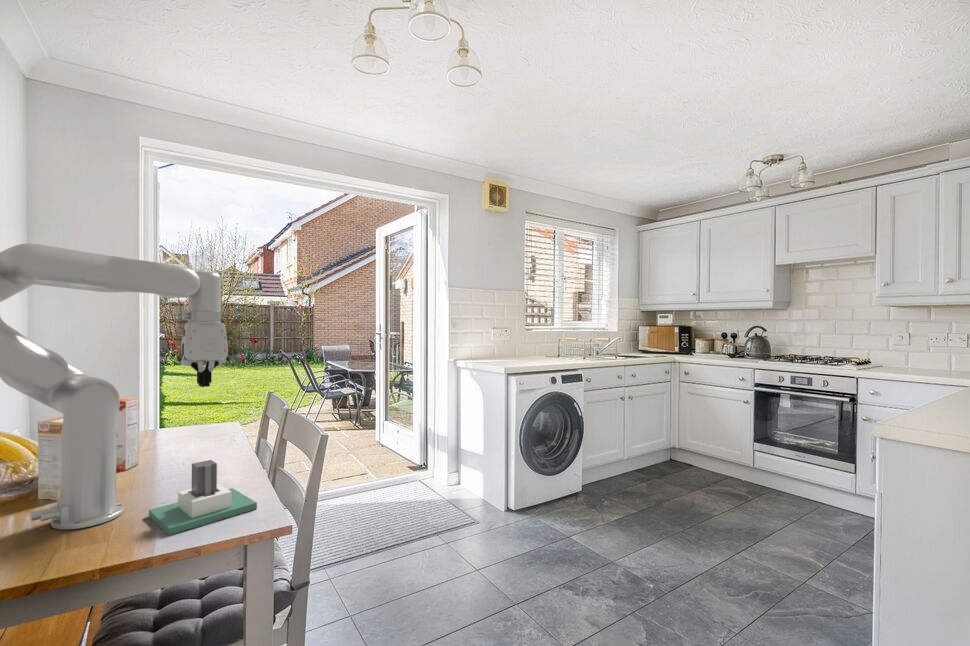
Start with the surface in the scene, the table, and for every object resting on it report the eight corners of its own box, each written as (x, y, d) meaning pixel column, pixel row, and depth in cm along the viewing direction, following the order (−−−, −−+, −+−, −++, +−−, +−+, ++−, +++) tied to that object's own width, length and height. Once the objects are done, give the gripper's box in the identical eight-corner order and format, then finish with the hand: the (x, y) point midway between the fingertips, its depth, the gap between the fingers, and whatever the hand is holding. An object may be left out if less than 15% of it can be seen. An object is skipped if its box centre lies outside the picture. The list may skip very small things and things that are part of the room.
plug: (198, 512, 104) (198, 468, 104) (191, 506, 107) (191, 463, 107) (217, 506, 107) (217, 464, 107) (210, 501, 110) (210, 459, 110)
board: (169, 535, 96) (169, 528, 96) (148, 516, 105) (148, 509, 105) (256, 508, 110) (256, 502, 110) (232, 493, 119) (232, 488, 119)
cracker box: (75, 471, 134) (75, 400, 134) (92, 465, 140) (92, 396, 140) (124, 471, 135) (125, 400, 134) (139, 465, 141) (139, 396, 140)
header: (192, 518, 101) (192, 502, 101) (177, 506, 107) (178, 491, 107) (231, 506, 108) (231, 491, 108) (216, 496, 113) (216, 482, 113)
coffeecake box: (93, 478, 129) (94, 409, 128) (116, 480, 128) (117, 410, 128) (35, 499, 114) (36, 420, 114) (61, 501, 113) (62, 422, 113)
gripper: (177, 317, 115) (176, 391, 115) (239, 318, 127) (239, 384, 127) (167, 317, 120) (166, 387, 120) (228, 318, 131) (228, 382, 132)
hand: (204, 386), depth 123 cm, fingers closed
